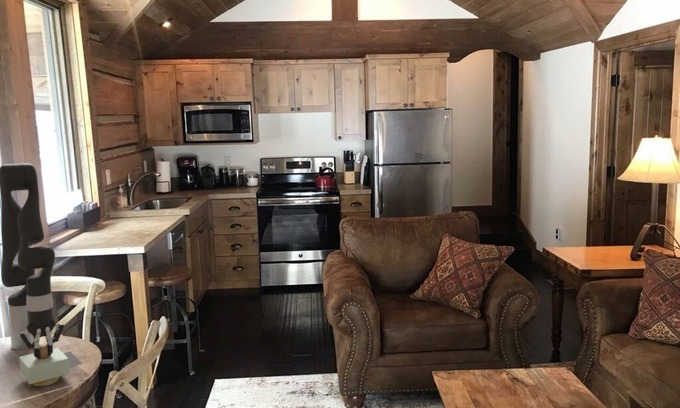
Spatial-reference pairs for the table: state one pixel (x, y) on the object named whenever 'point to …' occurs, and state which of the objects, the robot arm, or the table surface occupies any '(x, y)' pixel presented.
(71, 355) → the mat
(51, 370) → the cover
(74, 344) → the table surface
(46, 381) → the bread roll
